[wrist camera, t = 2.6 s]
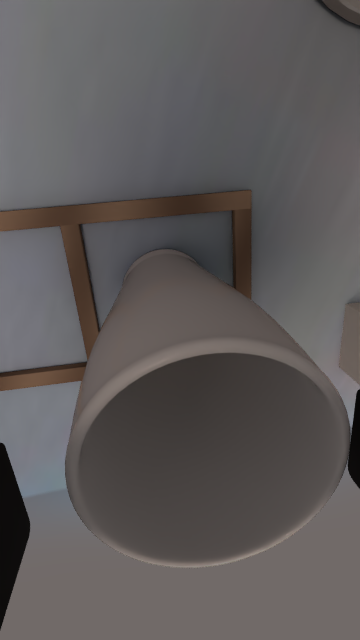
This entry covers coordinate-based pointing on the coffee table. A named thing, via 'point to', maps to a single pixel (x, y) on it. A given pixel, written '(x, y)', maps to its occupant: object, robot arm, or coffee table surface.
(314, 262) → the coffee table surface
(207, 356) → the drinking glass
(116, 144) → the coffee table surface
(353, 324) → the die
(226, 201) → the copper window frame
